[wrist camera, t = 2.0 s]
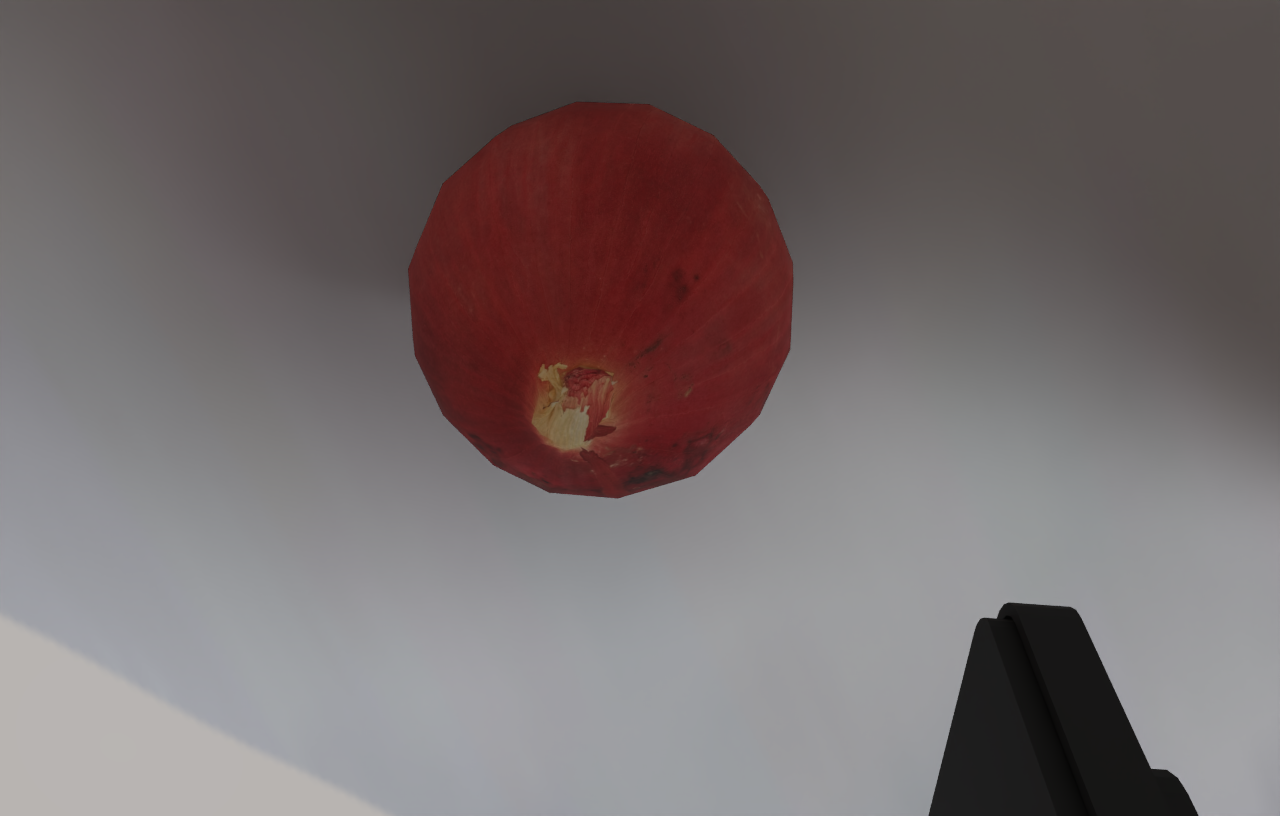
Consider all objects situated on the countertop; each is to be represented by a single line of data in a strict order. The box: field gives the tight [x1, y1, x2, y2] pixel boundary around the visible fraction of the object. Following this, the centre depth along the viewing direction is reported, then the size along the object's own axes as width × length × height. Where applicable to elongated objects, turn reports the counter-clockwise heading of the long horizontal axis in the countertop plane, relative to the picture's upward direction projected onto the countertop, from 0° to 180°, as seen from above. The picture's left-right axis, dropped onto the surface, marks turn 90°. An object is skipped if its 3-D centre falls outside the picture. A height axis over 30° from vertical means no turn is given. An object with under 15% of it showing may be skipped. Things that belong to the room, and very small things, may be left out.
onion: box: [408, 102, 793, 498], centre depth 18 cm, size 6×6×8 cm
